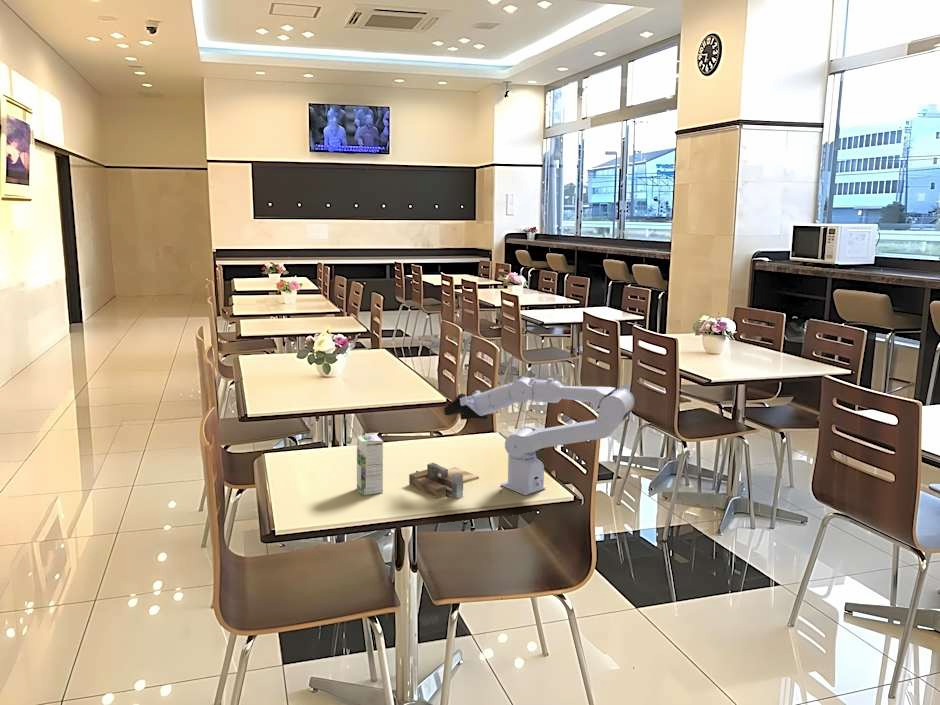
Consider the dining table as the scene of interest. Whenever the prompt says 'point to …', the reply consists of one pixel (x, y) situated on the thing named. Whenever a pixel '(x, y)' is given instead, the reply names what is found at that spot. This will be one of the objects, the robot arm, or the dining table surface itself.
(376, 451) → the drink carton
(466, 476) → the cork mat
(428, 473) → the vise
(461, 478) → the grey l-shaped block
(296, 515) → the dining table surface
